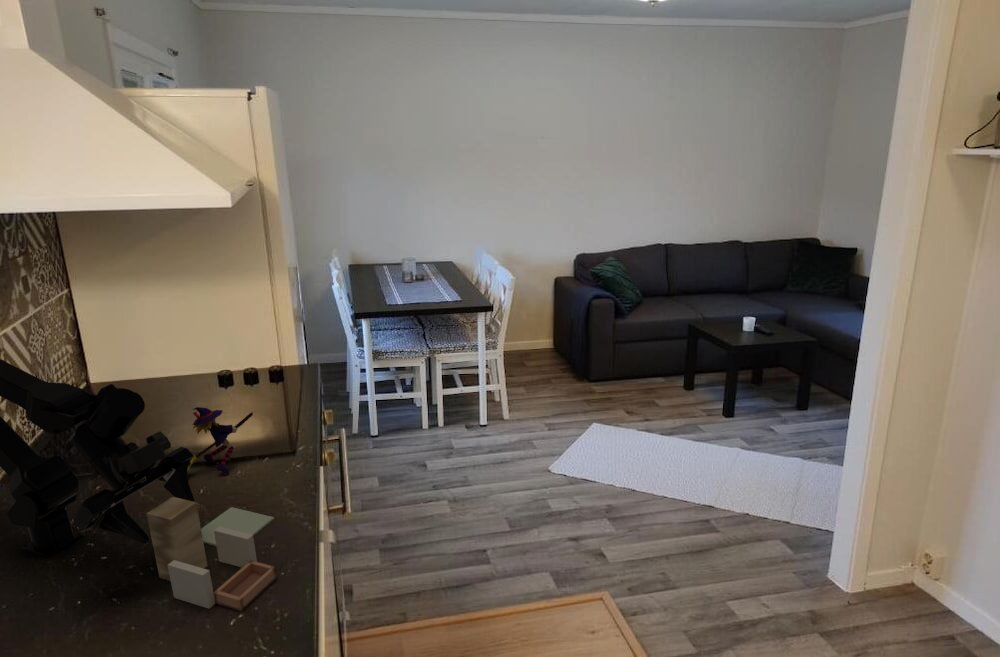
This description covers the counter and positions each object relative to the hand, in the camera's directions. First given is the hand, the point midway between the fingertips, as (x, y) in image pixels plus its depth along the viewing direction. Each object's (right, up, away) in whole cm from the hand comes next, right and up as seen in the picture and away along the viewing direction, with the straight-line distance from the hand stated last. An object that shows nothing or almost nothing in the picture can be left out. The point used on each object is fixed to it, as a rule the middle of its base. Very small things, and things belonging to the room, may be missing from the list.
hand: (172, 525), depth 100 cm
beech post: (+1, -8, +2) cm, 9 cm away
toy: (-8, +1, +34) cm, 35 cm away
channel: (+7, -9, 0) cm, 12 cm away
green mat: (+4, -5, +13) cm, 15 cm away
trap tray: (+13, -9, -2) cm, 16 cm away
